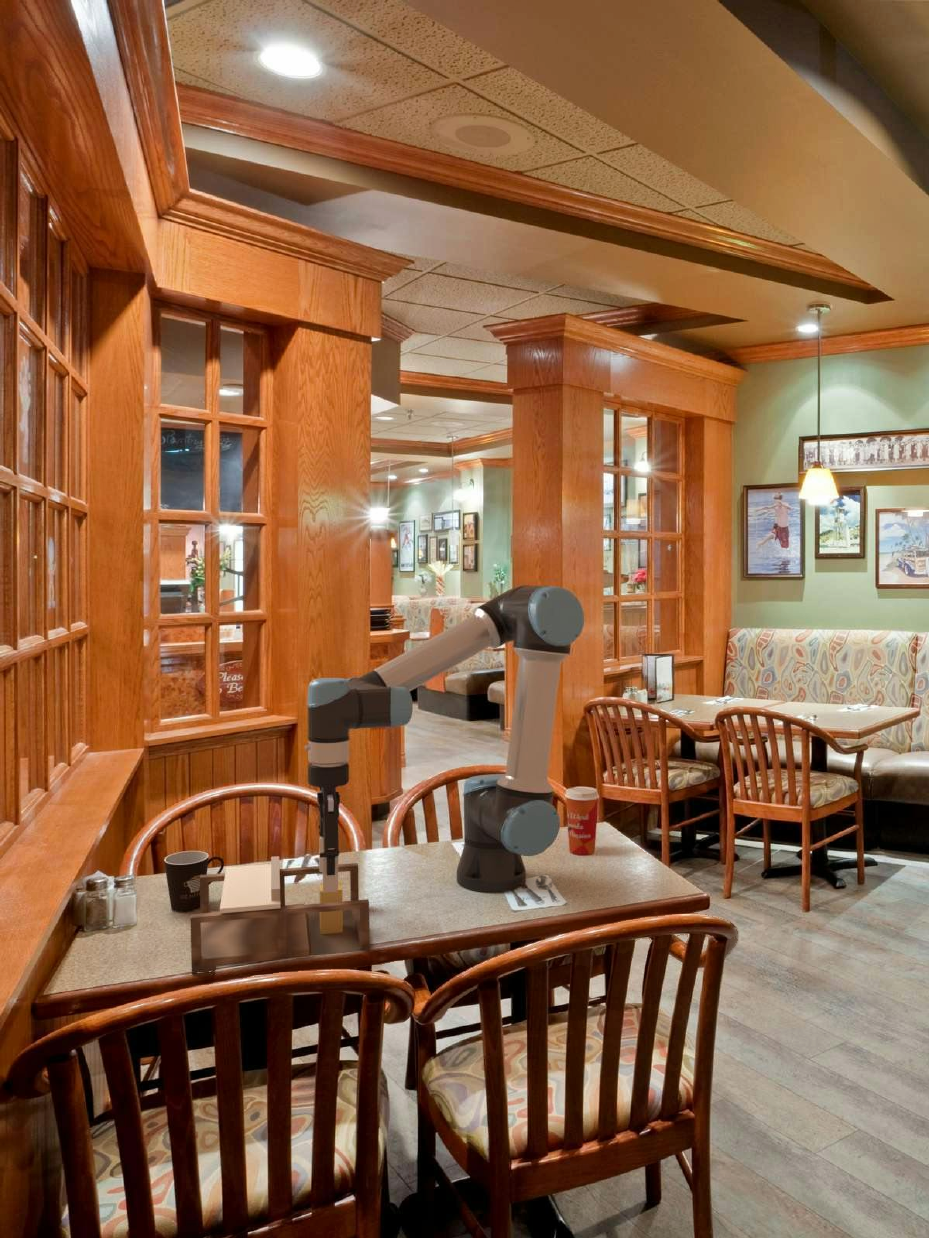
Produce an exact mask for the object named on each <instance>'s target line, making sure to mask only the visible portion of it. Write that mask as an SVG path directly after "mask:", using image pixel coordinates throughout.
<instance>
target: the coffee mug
mask: <svg viewBox="0 0 929 1238" xmlns="http://www.w3.org/2000/svg"><path fill="white" fill-rule="evenodd" d="M209 856H210V855H209V854H208V853H207V852H205V851H201V850H186V851H179V852H175V853H172V854H169V855H167V856H165V857H164V859H163V863H164V868H165V869H164V870H165V874H166V875H165V876H166V882H167V889H168V895H169V903H170V909H171V911H174V912H178V913H189V912H193V911H194V912H195V911H198V910H201V906H200V875H208V867H209V865H210V864H211V862H213V861H215V860H217V861H219V862H220V868H219V870H218V871H217V872H216V874H221V873H222V871H223V870H224V867H225V862H224V860H223V858H221V857H220V856H212V857H210V858H209ZM211 883H213V882H209V886H210V885H211Z"/></svg>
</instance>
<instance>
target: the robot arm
mask: <svg viewBox="0 0 929 1238" xmlns="http://www.w3.org/2000/svg"><path fill="white" fill-rule="evenodd" d="M584 626H585V613H584V609H583V606H582V603H581V601H580V600H579V599H578V597H577V596H576V595H575V594H574V593H573V592H571V591H570V589H569V590H568V589H566V588H564V587H559V586H555V585H524V584H523V585H519V586H516V587H513V588H510V589H508V590H506V591H504V592H502V593H501V594H499V595H497V596H495V597H494V598H492V599H489V601H487V602H485V603H483V604H481V605H479V606H477V607H476V608H474V609H473V610H472V615H471V616H469V617H467V618H466V619H464V620H462V621H460V622H459V623H456V624H454V625H452V626H450V627H449V628H447V629H445V630H444V631H441V632H440V633H438V634H436V635H435V636H432V637H431V638H429V639H427V640H426V641H424V642H421V643H420V644H418V645H416V646H415V647H412V648H411V649H409V650H407V651H406V652H403V653H402V654H400V655H398V656H396V657H395V658H393V659H391V660H389V661H387V662H386V663H383V664H382V665H380V666H379V667H376V668H374V669H372V670H371V671H369V672H367V673H365V674H363V675H362V676H360V677H349V678H342V677H320V678H315V679H312V680H311V681H310V683H308V684H309V685H308V690H307V703H306V706H307V745H304V750H305V751H308V752H307V757H308V760H307V761H308V762H309V764H308V765H307V783H308V785H310V786H312V787H315V788H319V792H317V793H316V798H317V799H316V800H317V807H318V808H317V810H318V813H319V815H318V816H319V818H318V819H319V822H318V829H319V831H318V834H319V836H320V837H319V838H318V839H319V842H318V843H319V844H318V845H319V847H318V849H319V850H318V851H319V853H318V854H319V856H318V857H319V859H318V860H319V861H318V863H319V864H318V866H319V872H323V873H322V884H323V893H325V892H338V882H339V872H338V864H339V855H340V850H339V817H340V803H341V796H340V792H339V791H337V790H336V788H338V787H343V786H346V785H347V784H348V783H349V781H350V764H349V763H348V761H349V760H350V730H357V729H358V730H359V729H374V728H395V727H399V726H400V727H401V726H406V725H408V724H409V723H410V721H411V719H412V717H413V716H412V715H413V710H414V709H413V706H414V705H413V699H412V695H411V691H413V690H415V689H417V688H418V687H420V686H422V685H424V684H426V683H428V682H430V681H431V680H433V679H434V678H436V677H438V676H440V675H442V674H443V673H445V672H448V670H451V669H452V668H454V667H456V666H457V665H459V664H461V663H463V662H464V661H466V660H468V659H470V658H472V657H474V656H476V655H477V654H479V653H480V652H481V653H482V651H484V650H486V649H488V648H492V649H498V648H500V647H501V646H503V645H504V644H507V643H510V642H513V645H512V649H513V651H514V652H515V653H516V655H517V656H518V666H517V674H516V682H515V689H514V690H515V691H514V700H513V707H512V716H511V724H510V725H511V726H510V733H509V740H508V741H509V742H508V749H507V750H508V751H507V758H506V766H505V773H496V774H495V773H493V774H492V773H490V774H483V775H482V774H481V775H475V776H470V777H468V778H467V779H465V781H464V786H463V792H462V797H463V825H464V828H463V831H464V832H463V834H464V846H463V847H462V848H463V849H462V853H461V856H460V858H459V862H458V865H457V867H456V883H457V884H458V885H459V886H461V887H463V888H465V889H467V890H471V891H476V892H483V893H497V892H507V891H511V890H516V889H518V888H520V887H522V886H523V885H525V883H526V882H527V870H526V866H525V864H524V861H523V858H522V856H523V857H533V856H537V855H541V854H542V853H544V852H545V851H546V850H547V849H548V848H550V847H551V846H552V845H553V843H554V842H555V841H556V839H557V838H558V835H559V831H560V827H561V819H560V816H559V812H557V809H556V808H555V806H554V805H553V797H554V789H555V788H554V787H553V785H552V784H551V783H550V781H549V779H548V775H549V768H550V761H551V760H550V759H551V750H552V742H553V734H554V725H555V717H556V708H557V700H558V692H559V686H560V685H559V683H560V677H561V676H560V674H561V669H562V668H561V666H562V662H564V661H565V660H566V659H568V658H569V656H570V654H571V647H572V643H574V642H575V641H576V639H577V638H578V637H580V636H581V634H582V632H583V629H584Z"/></svg>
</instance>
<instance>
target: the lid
mask: <svg viewBox="0 0 929 1238" xmlns="http://www.w3.org/2000/svg"><path fill="white" fill-rule="evenodd" d="M270 860H271V861H270V864H269V863H268V864H267V863H265V864H255V865H244V866H243V865H242V866H229V867H227V866H226V868H225V872H224V873H225V879H224V881H223V887H222V892H221V900H220V906H219V911H220V913H231V912H243V911H255V910H266V909H278V908H280V870H279V869H280V855H278V856H271V857H270Z"/></svg>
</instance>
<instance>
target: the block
mask: <svg viewBox="0 0 929 1238" xmlns="http://www.w3.org/2000/svg"><path fill="white" fill-rule="evenodd" d="M318 895H319V896H318V898H319V899H318V900H319V902H318V904H319V903H330V902H342V901H343V887H342V882H339V881H338V892H325V893H323V883H319V884H318ZM320 931H321V934H329V933H340V932H343V910H340V911H329V912H320Z"/></svg>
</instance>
